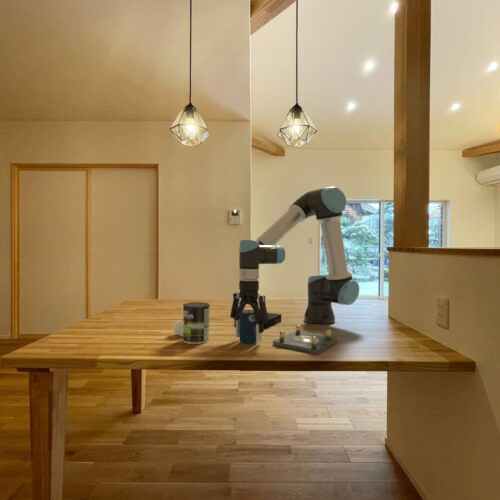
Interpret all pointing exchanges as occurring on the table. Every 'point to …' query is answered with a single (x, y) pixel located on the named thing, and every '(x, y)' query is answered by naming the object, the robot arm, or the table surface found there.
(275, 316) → the portable cd player
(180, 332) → the duck figurine
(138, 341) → the table surface
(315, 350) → the chassis plate
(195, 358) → the table surface
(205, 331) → the coffee can
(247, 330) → the soda can
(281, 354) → the table surface
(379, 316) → the table surface
